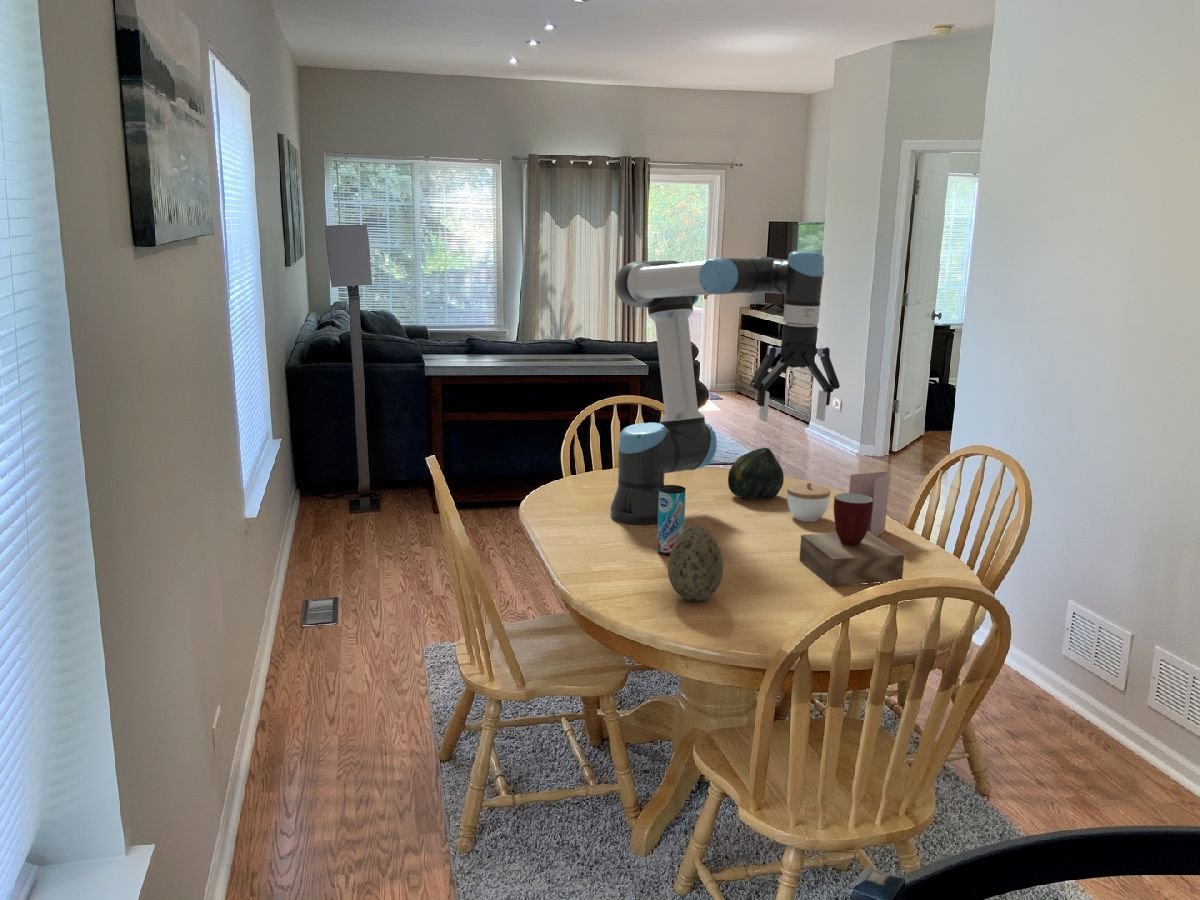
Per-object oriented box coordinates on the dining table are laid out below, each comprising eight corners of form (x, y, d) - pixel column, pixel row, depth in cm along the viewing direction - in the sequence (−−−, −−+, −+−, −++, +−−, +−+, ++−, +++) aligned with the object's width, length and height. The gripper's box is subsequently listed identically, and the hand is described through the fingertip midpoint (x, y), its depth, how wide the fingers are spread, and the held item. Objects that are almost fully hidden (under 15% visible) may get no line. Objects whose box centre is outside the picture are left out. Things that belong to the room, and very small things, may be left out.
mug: (873, 553, 194) (877, 507, 192) (833, 551, 195) (836, 505, 193) (867, 538, 204) (871, 494, 202) (829, 535, 205) (833, 492, 203)
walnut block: (830, 586, 192) (833, 559, 190) (799, 560, 207) (801, 534, 206) (901, 582, 195) (904, 555, 193) (865, 556, 210) (867, 531, 209)
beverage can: (651, 551, 211) (653, 487, 208) (668, 546, 215) (671, 483, 212) (671, 558, 207) (673, 493, 204) (688, 552, 211) (691, 488, 208)
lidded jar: (817, 527, 231) (820, 490, 229) (778, 518, 237) (780, 483, 235) (834, 517, 240) (837, 482, 237) (796, 509, 246) (798, 475, 244)
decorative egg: (701, 586, 191) (704, 515, 188) (732, 604, 182) (736, 530, 178) (656, 594, 186) (659, 522, 182) (686, 613, 177) (689, 538, 173)
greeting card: (882, 529, 231) (887, 470, 227) (901, 538, 224) (907, 477, 221) (843, 533, 227) (848, 473, 223) (862, 542, 220) (867, 481, 216)
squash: (713, 471, 262) (736, 440, 251) (758, 469, 268) (782, 438, 257) (731, 514, 254) (756, 483, 243) (776, 510, 261) (802, 480, 250)
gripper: (752, 326, 195) (744, 424, 201) (861, 327, 201) (851, 423, 206) (740, 321, 202) (733, 416, 208) (845, 322, 208) (836, 415, 213)
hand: (791, 420), depth 207 cm, fingers open, 13 cm apart
